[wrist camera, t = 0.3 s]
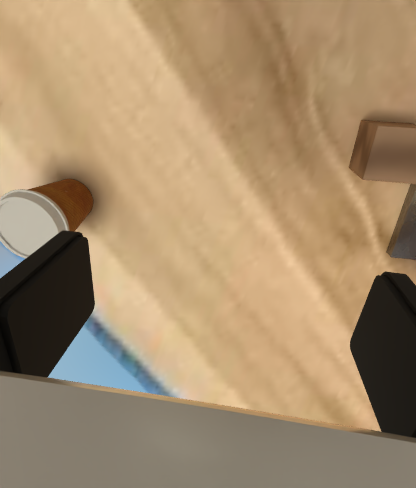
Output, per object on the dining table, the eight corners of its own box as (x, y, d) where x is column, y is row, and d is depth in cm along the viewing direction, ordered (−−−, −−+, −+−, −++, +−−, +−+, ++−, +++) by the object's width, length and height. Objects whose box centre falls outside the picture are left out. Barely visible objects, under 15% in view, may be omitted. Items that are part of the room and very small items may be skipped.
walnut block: (360, 120, 40) (378, 126, 34) (410, 123, 39) (435, 129, 34) (348, 167, 42) (362, 179, 37) (394, 171, 42) (415, 183, 37)
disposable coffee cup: (114, 195, 48) (76, 227, 38) (85, 236, 52) (44, 276, 42) (60, 154, 46) (4, 176, 36) (35, 201, 50) (-23, 232, 40)
